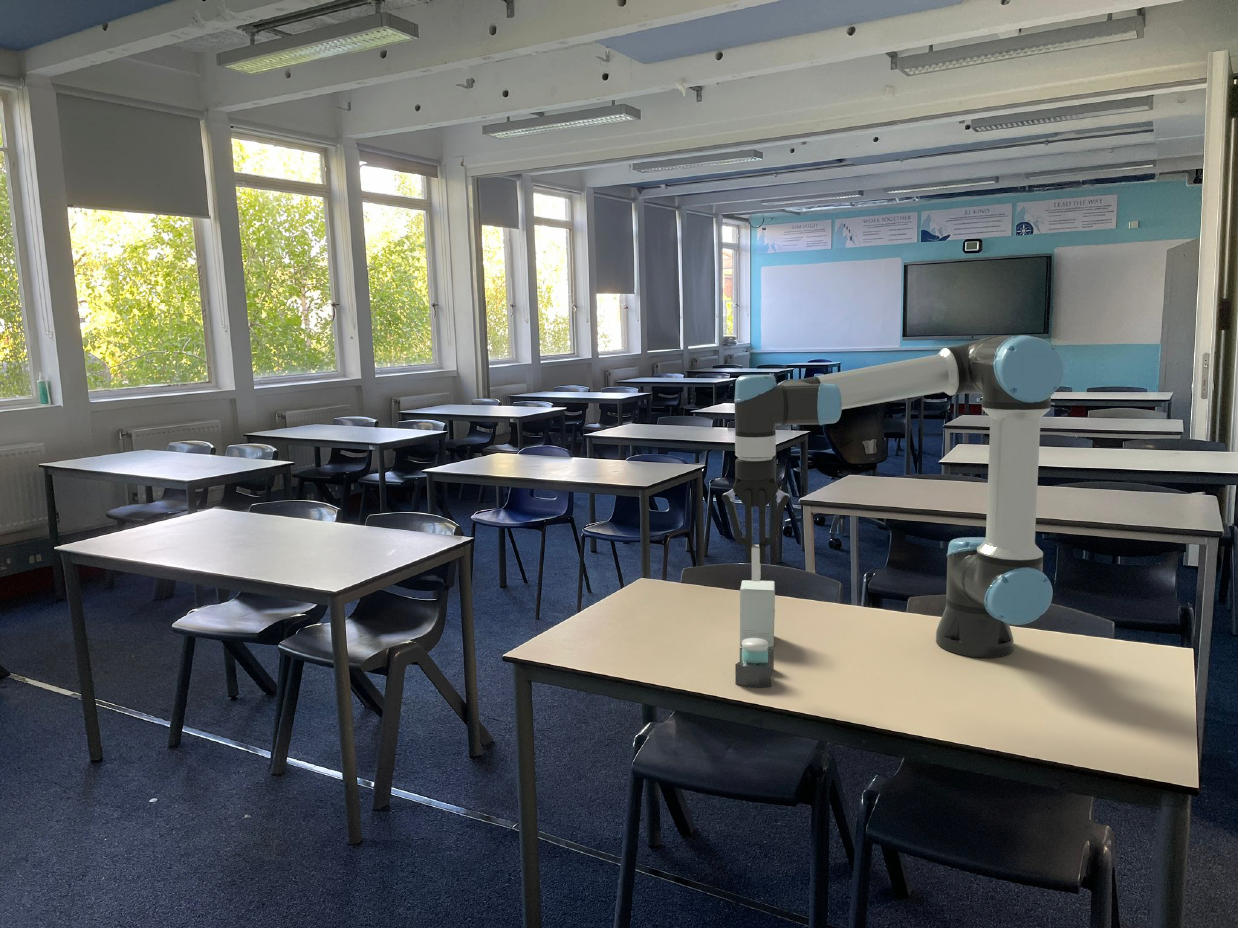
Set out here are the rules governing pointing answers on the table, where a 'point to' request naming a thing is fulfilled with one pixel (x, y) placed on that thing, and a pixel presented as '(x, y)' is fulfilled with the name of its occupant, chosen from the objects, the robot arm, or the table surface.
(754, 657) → the teal lidded jar
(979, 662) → the table surface
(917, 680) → the table surface
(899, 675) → the table surface
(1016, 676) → the table surface
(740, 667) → the grey stepped block
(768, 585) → the supplement box
